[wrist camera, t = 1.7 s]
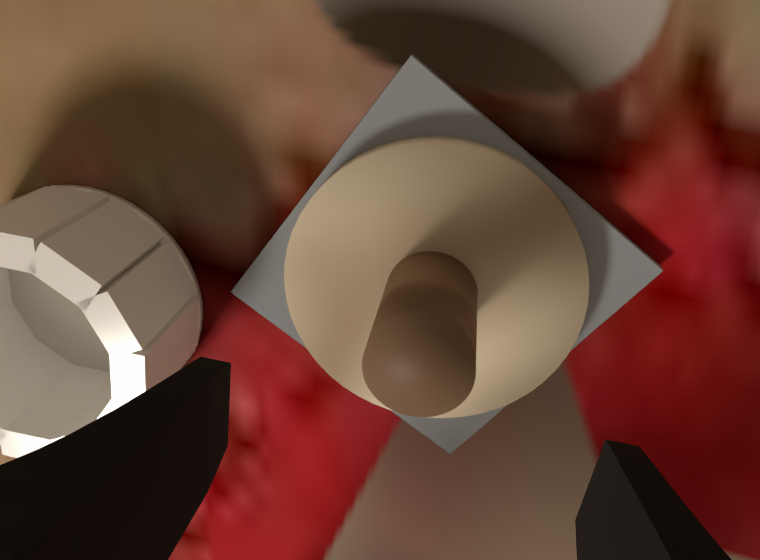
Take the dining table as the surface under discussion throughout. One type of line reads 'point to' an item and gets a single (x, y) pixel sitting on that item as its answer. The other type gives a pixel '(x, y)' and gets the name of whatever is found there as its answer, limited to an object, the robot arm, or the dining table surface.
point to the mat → (462, 120)
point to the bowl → (86, 311)
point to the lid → (437, 277)
